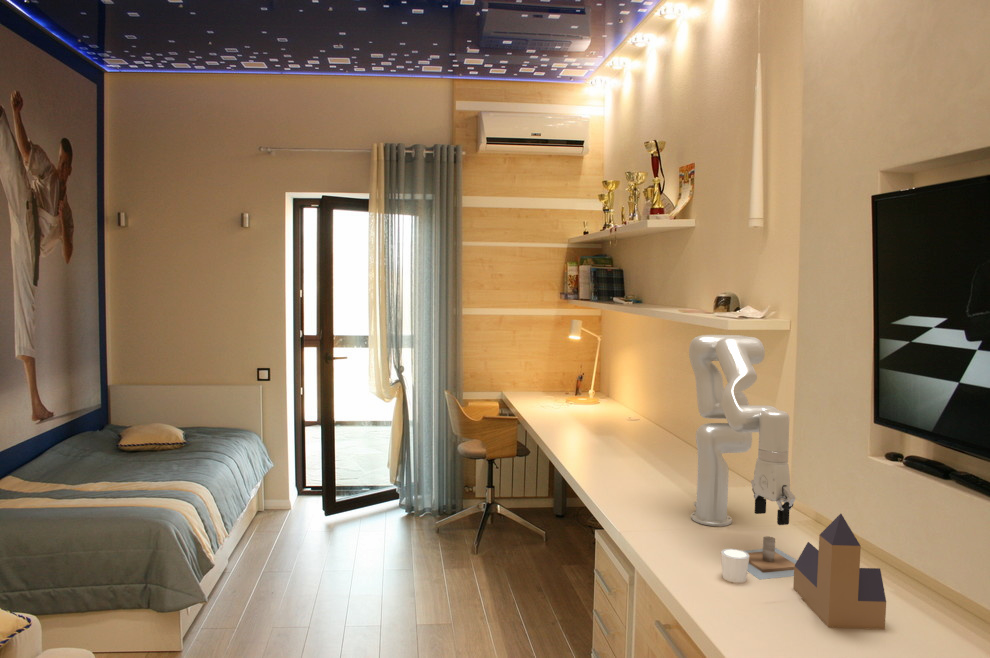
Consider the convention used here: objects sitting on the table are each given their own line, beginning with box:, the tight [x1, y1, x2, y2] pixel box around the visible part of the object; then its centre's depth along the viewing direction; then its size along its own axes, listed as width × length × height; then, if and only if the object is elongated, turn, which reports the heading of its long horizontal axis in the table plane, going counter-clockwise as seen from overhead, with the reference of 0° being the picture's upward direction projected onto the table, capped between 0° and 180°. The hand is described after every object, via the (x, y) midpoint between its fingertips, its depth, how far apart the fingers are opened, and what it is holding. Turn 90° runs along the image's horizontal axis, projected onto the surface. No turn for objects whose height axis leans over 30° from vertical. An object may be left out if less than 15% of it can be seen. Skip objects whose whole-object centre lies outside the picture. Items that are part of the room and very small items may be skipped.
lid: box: [748, 535, 795, 573], centre depth 186 cm, size 11×11×7 cm
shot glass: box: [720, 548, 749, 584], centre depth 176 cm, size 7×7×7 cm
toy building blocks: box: [792, 513, 887, 630], centre depth 161 cm, size 12×19×25 cm, turn 179°
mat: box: [744, 547, 798, 580], centre depth 187 cm, size 18×18×1 cm
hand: (771, 518), depth 185 cm, fingers open, 9 cm apart
